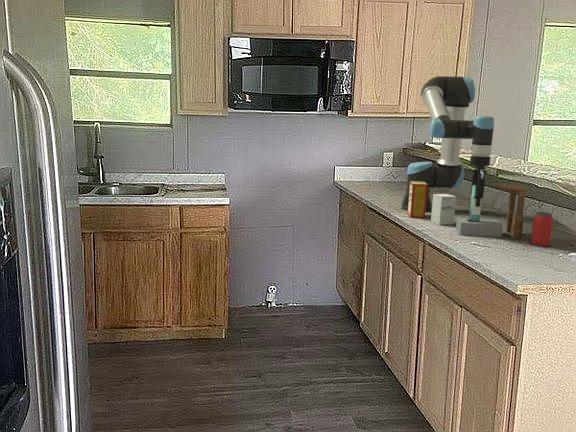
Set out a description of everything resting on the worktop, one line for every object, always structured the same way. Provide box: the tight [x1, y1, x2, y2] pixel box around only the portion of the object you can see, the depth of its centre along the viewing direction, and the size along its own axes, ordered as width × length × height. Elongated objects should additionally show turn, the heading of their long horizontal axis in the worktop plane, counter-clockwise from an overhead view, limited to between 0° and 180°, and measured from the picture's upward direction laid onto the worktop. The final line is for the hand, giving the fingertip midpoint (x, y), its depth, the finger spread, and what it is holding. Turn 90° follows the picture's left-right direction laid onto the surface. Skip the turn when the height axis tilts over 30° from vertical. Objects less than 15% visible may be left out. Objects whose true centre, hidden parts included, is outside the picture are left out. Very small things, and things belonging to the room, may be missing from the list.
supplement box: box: [430, 193, 457, 226], centre depth 243 cm, size 7×7×13 cm
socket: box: [455, 217, 504, 238], centre depth 226 cm, size 10×16×5 cm, turn 82°
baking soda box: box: [407, 181, 428, 219], centre depth 257 cm, size 10×6×16 cm
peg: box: [469, 185, 483, 221], centre depth 224 cm, size 4×4×14 cm
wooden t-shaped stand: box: [493, 182, 528, 240], centre depth 223 cm, size 14×9×20 cm, turn 173°
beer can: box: [530, 211, 554, 247], centre depth 209 cm, size 7×7×12 cm
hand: (475, 213), depth 225 cm, fingers closed on peg, 4 cm apart
